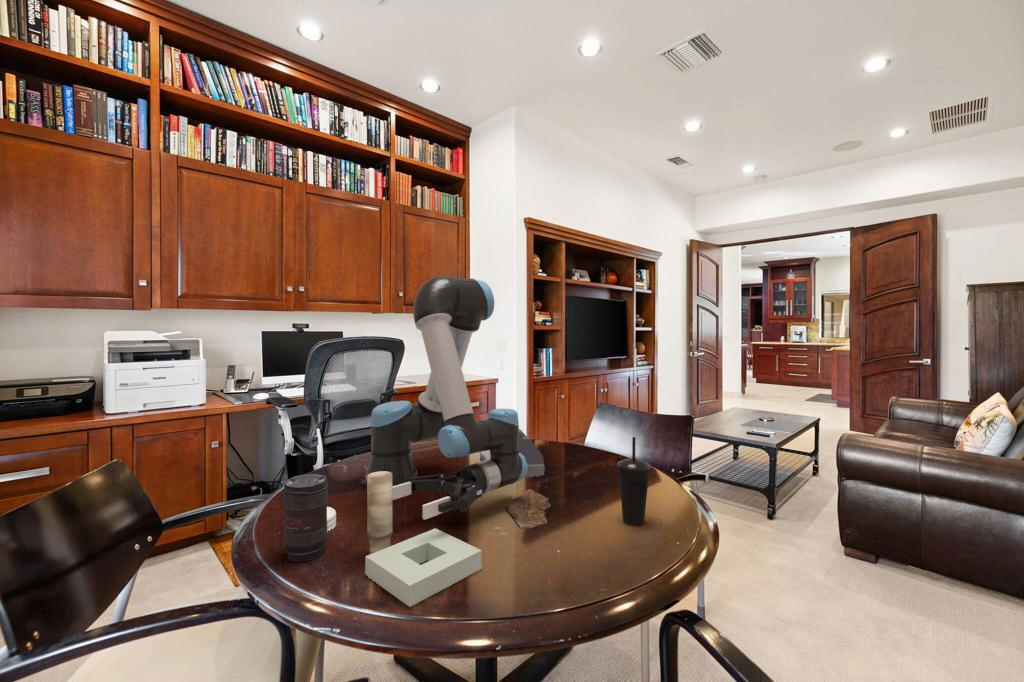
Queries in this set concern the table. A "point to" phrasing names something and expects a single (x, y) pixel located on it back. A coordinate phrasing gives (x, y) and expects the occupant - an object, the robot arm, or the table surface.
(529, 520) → the wooden fragment
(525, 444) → the instant camera
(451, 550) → the board
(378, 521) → the leg
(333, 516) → the coaster
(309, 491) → the camera lens
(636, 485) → the drinking cup
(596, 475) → the table surface
